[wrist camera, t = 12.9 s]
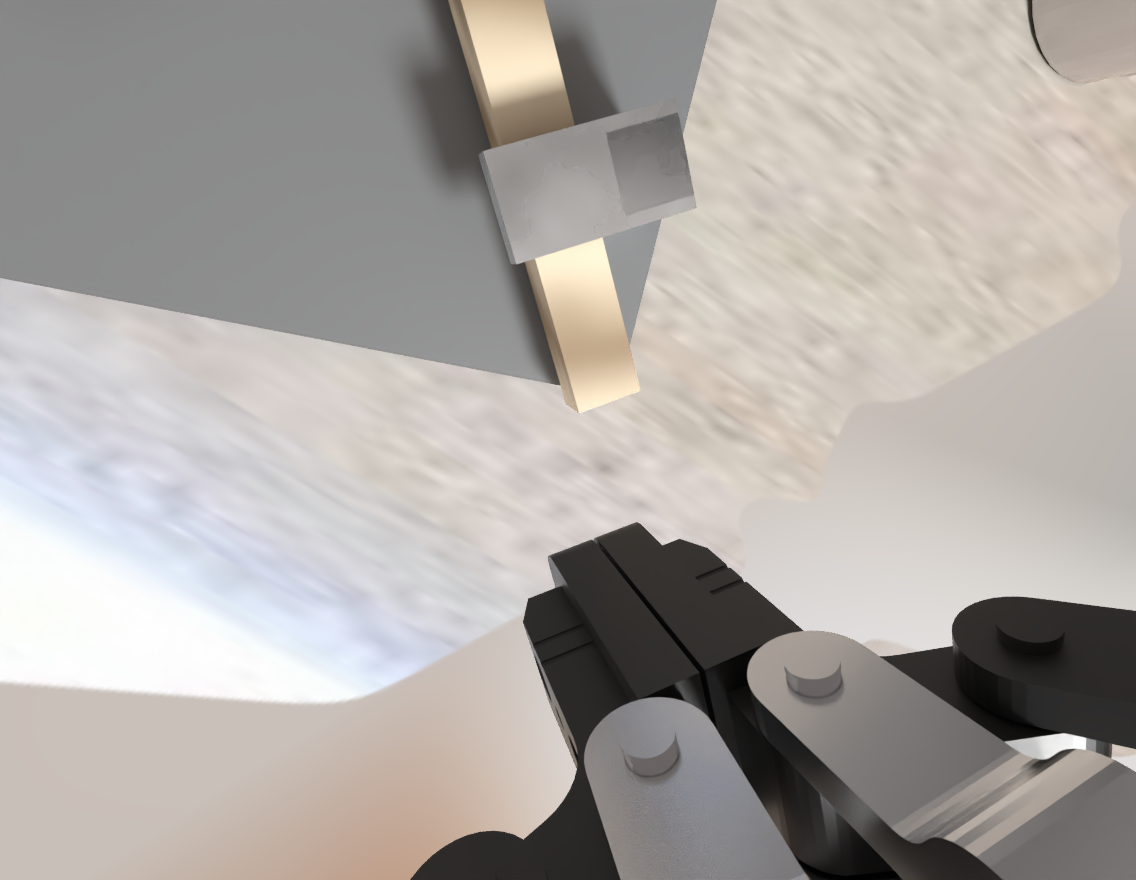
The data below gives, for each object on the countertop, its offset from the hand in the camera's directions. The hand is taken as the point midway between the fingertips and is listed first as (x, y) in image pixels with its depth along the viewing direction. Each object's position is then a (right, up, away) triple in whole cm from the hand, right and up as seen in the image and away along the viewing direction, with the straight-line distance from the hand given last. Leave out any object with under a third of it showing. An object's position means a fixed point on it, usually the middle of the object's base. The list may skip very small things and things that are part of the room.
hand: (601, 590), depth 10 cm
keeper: (-1, +13, +18) cm, 23 cm away
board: (-9, +17, +16) cm, 25 cm away
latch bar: (-2, +14, +17) cm, 22 cm away
